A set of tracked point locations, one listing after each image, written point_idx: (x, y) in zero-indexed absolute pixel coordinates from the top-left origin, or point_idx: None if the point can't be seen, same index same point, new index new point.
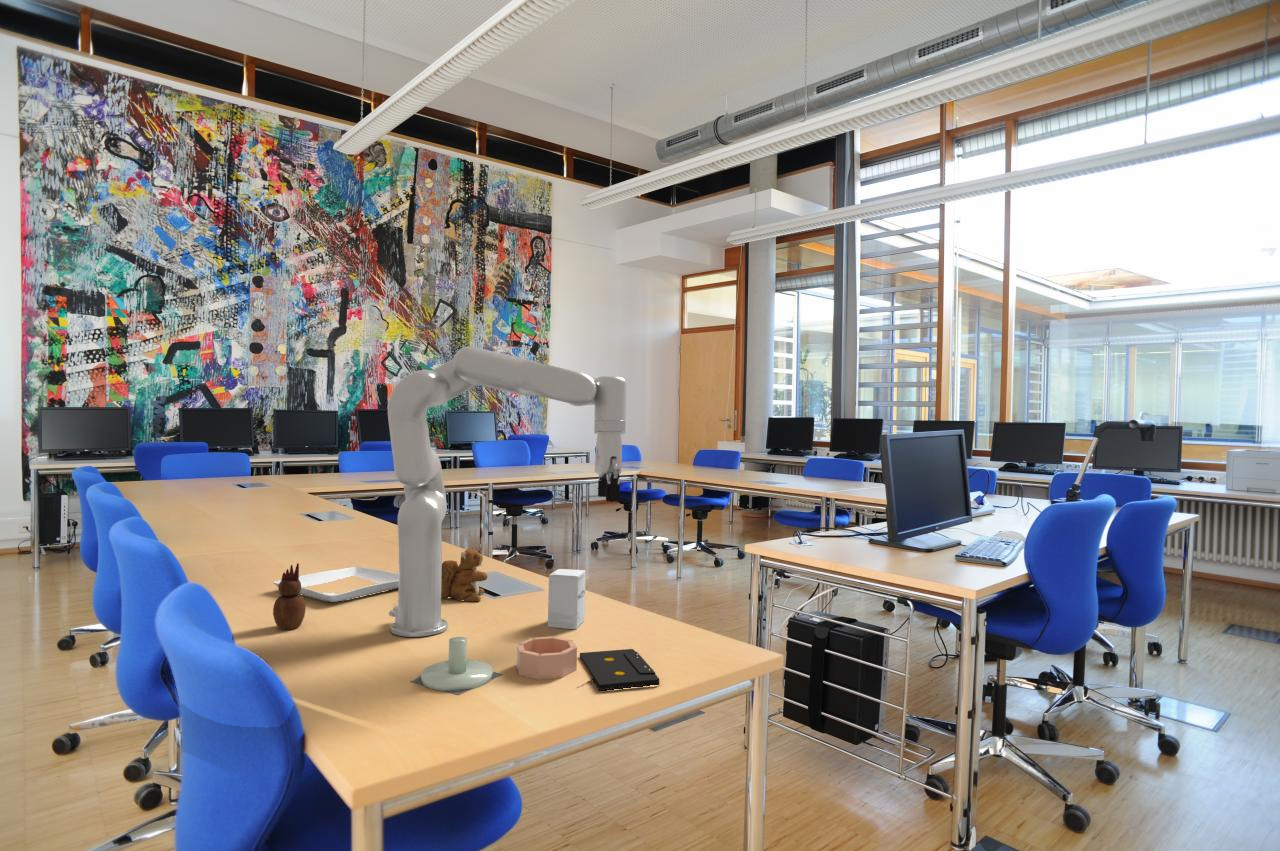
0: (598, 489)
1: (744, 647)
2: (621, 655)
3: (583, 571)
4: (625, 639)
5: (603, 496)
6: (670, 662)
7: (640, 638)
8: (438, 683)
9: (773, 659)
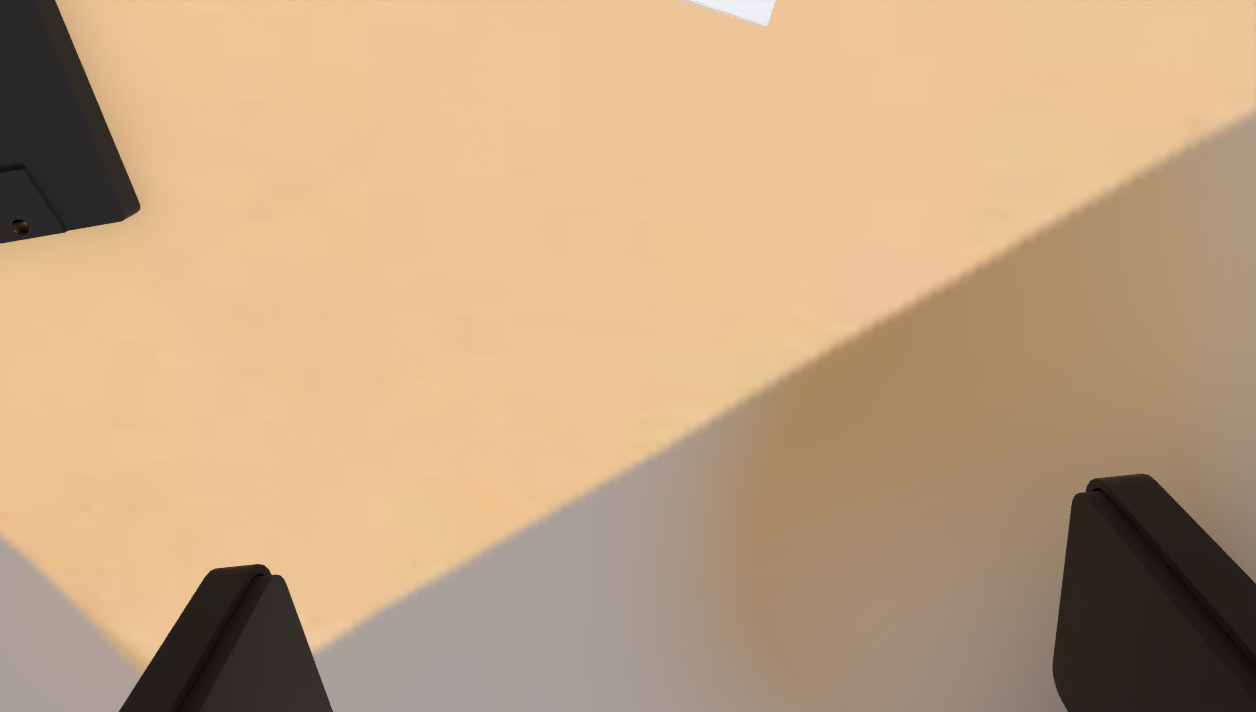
0: (1183, 572)
1: None
2: (14, 154)
3: (719, 4)
4: (377, 201)
5: (1077, 562)
6: (71, 356)
7: (397, 274)
8: None
9: None
